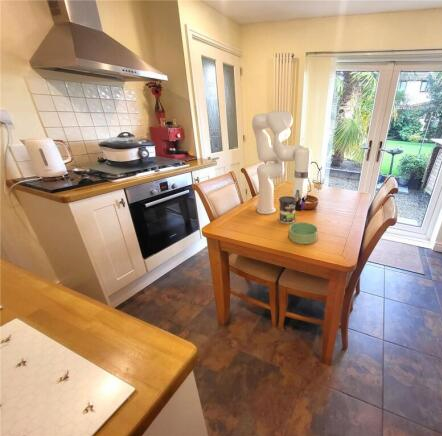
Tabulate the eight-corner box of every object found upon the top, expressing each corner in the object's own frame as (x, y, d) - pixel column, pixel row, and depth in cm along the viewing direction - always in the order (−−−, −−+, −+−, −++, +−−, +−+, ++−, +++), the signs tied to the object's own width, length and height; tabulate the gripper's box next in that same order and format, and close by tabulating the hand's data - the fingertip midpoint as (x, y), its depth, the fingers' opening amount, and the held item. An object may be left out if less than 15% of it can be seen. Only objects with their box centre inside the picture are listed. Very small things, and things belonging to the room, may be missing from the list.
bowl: (284, 241, 123) (284, 232, 121) (294, 228, 136) (294, 220, 134) (312, 247, 119) (313, 238, 116) (320, 234, 132) (320, 225, 129)
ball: (293, 210, 120) (294, 201, 118) (296, 207, 124) (297, 198, 122) (303, 212, 118) (303, 203, 116) (305, 208, 122) (306, 199, 120)
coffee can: (298, 221, 145) (299, 200, 139) (283, 224, 140) (283, 203, 134) (290, 215, 153) (291, 195, 147) (276, 218, 149) (276, 197, 143)
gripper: (300, 169, 122) (298, 202, 129) (288, 177, 107) (287, 213, 115) (313, 171, 119) (311, 204, 127) (303, 179, 105) (301, 216, 112)
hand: (300, 208), depth 121 cm, fingers closed on ball, 4 cm apart
